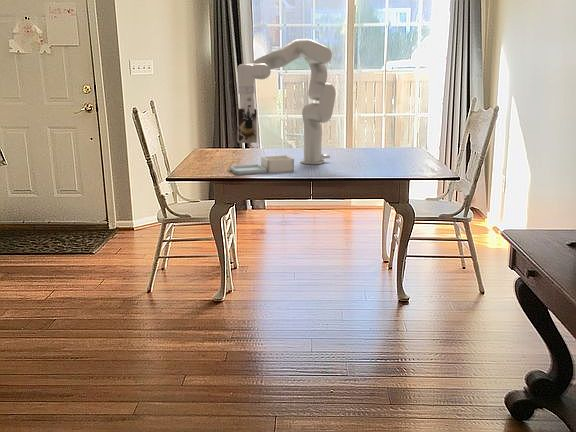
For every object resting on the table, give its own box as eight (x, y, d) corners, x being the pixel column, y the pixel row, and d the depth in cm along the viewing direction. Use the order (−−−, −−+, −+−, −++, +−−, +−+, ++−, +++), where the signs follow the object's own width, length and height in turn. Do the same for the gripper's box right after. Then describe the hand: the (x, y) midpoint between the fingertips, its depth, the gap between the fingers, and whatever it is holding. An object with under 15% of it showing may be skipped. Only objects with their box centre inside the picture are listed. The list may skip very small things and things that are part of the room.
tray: (258, 168, 295) (258, 164, 295) (266, 173, 283) (266, 169, 282) (230, 169, 291) (229, 166, 290) (236, 175, 278) (236, 171, 277)
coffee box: (238, 143, 279) (237, 109, 274) (237, 141, 285) (236, 108, 280) (257, 142, 280) (256, 109, 276) (255, 140, 286) (254, 108, 282)
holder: (286, 166, 299) (286, 155, 297) (293, 170, 289) (293, 158, 287) (261, 168, 295) (261, 156, 293) (268, 172, 284) (267, 160, 283)
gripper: (258, 91, 269) (259, 129, 274) (248, 89, 285) (249, 125, 290) (243, 91, 267) (244, 130, 272) (234, 89, 283) (235, 125, 287)
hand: (246, 127), depth 281 cm, fingers closed on coffee box, 6 cm apart
